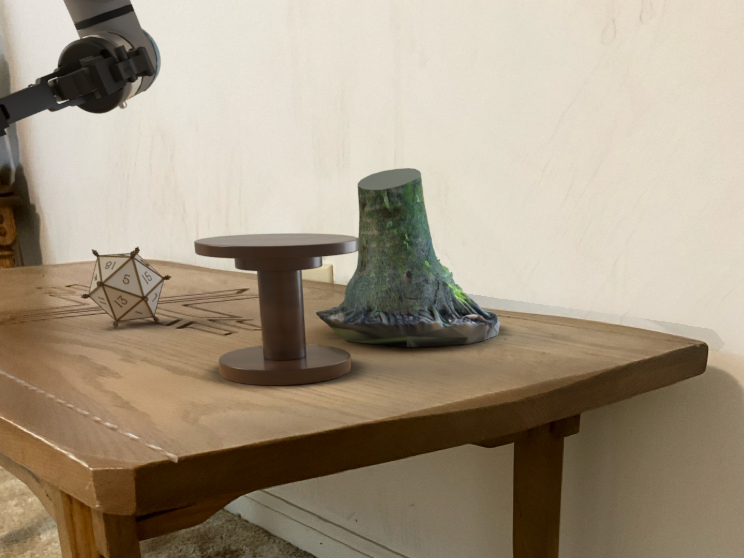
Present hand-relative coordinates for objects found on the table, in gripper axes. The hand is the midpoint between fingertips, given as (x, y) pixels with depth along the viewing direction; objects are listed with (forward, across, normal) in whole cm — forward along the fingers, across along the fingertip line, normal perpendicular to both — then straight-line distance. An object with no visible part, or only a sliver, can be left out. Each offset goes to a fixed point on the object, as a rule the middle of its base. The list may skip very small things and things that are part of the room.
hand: (34, 103), depth 82 cm
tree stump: (+8, -29, -30) cm, 42 cm away
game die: (+1, +1, -23) cm, 23 cm away
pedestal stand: (+24, -20, -23) cm, 39 cm away
